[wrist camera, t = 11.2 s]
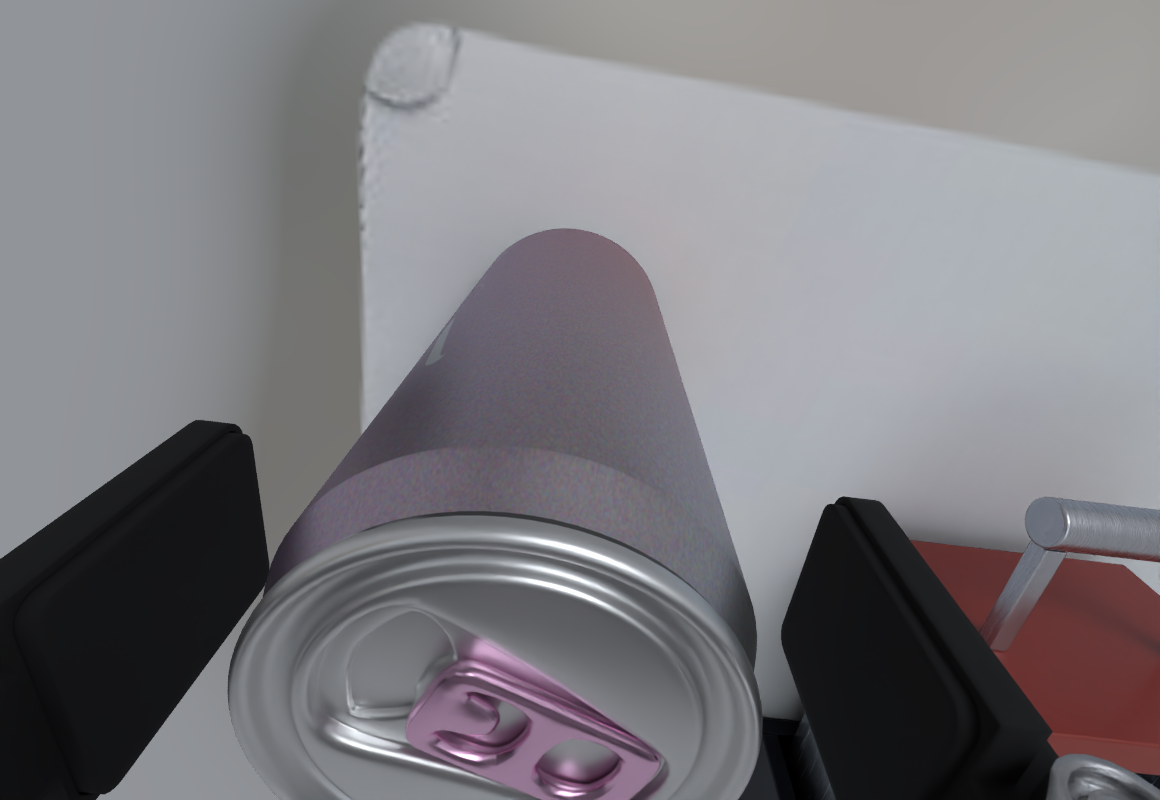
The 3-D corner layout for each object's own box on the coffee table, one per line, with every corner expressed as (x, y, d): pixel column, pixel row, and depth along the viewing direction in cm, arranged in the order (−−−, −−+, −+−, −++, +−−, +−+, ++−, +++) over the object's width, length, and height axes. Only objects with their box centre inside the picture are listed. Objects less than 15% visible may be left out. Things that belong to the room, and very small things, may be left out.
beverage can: (594, 424, 21) (583, 946, 8) (449, 341, 20) (138, 790, 7) (692, 289, 19) (915, 697, 6) (535, 186, 18) (332, 389, 4)
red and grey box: (906, 411, 20) (1075, 571, 13) (1203, 447, 20) (1530, 624, 13) (755, 782, 29) (805, 996, 22) (961, 804, 29) (1077, 1023, 22)
